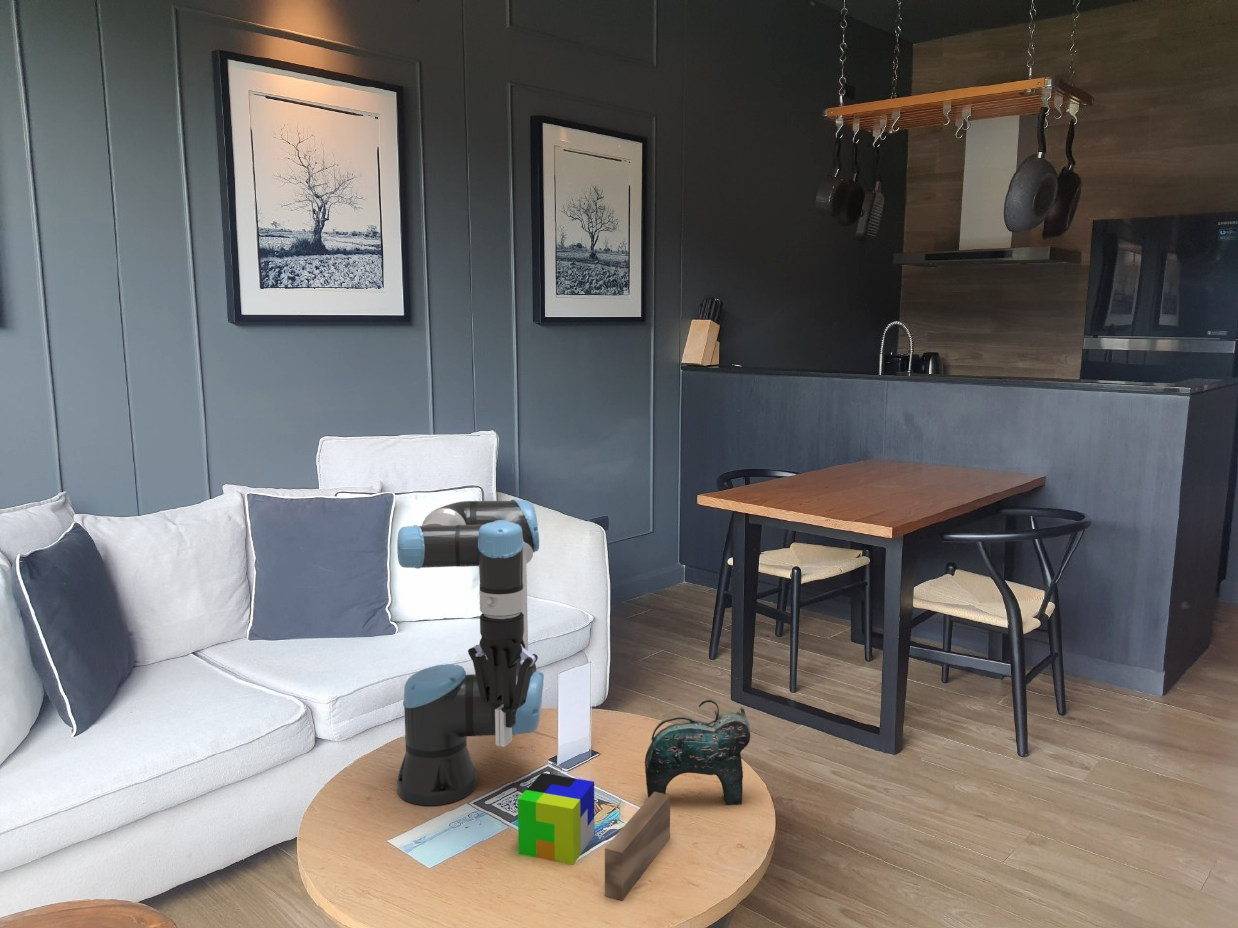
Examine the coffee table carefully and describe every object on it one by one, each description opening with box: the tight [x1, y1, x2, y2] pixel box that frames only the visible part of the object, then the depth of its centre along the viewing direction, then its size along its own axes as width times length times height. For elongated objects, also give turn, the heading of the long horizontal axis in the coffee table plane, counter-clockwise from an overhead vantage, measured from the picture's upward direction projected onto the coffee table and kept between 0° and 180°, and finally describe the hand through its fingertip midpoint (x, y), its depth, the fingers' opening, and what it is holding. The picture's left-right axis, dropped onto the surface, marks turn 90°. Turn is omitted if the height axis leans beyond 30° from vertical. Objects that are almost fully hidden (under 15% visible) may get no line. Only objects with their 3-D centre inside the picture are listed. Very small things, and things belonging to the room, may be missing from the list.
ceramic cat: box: [644, 698, 751, 806], centre depth 172 cm, size 20×6×20 cm, turn 92°
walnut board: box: [604, 792, 671, 901], centre depth 152 cm, size 3×20×8 cm, turn 155°
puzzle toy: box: [517, 772, 595, 866], centre depth 159 cm, size 10×10×10 cm
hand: (503, 742), depth 162 cm, fingers closed
